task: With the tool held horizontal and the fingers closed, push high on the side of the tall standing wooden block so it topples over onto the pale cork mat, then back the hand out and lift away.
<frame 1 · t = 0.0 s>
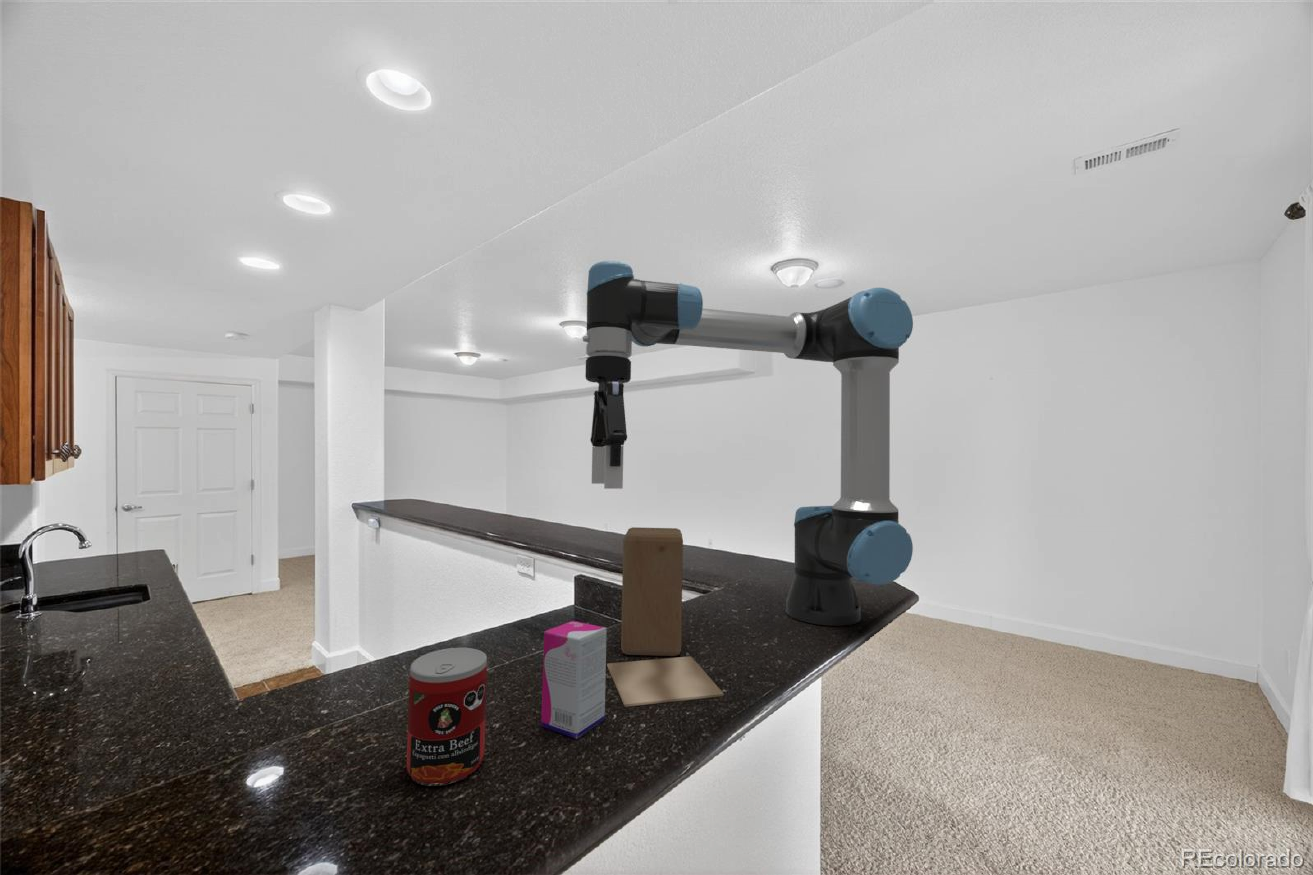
hand: (605, 486, 87), 28 cm above the counter, tool pointing down, fingers open, 13 cm apart
supplement box: (573, 724, 65), on the counter
canned food: (446, 767, 56), on the counter
wooden block: (651, 647, 92), on the counter
cork mat: (661, 679, 78), on the counter
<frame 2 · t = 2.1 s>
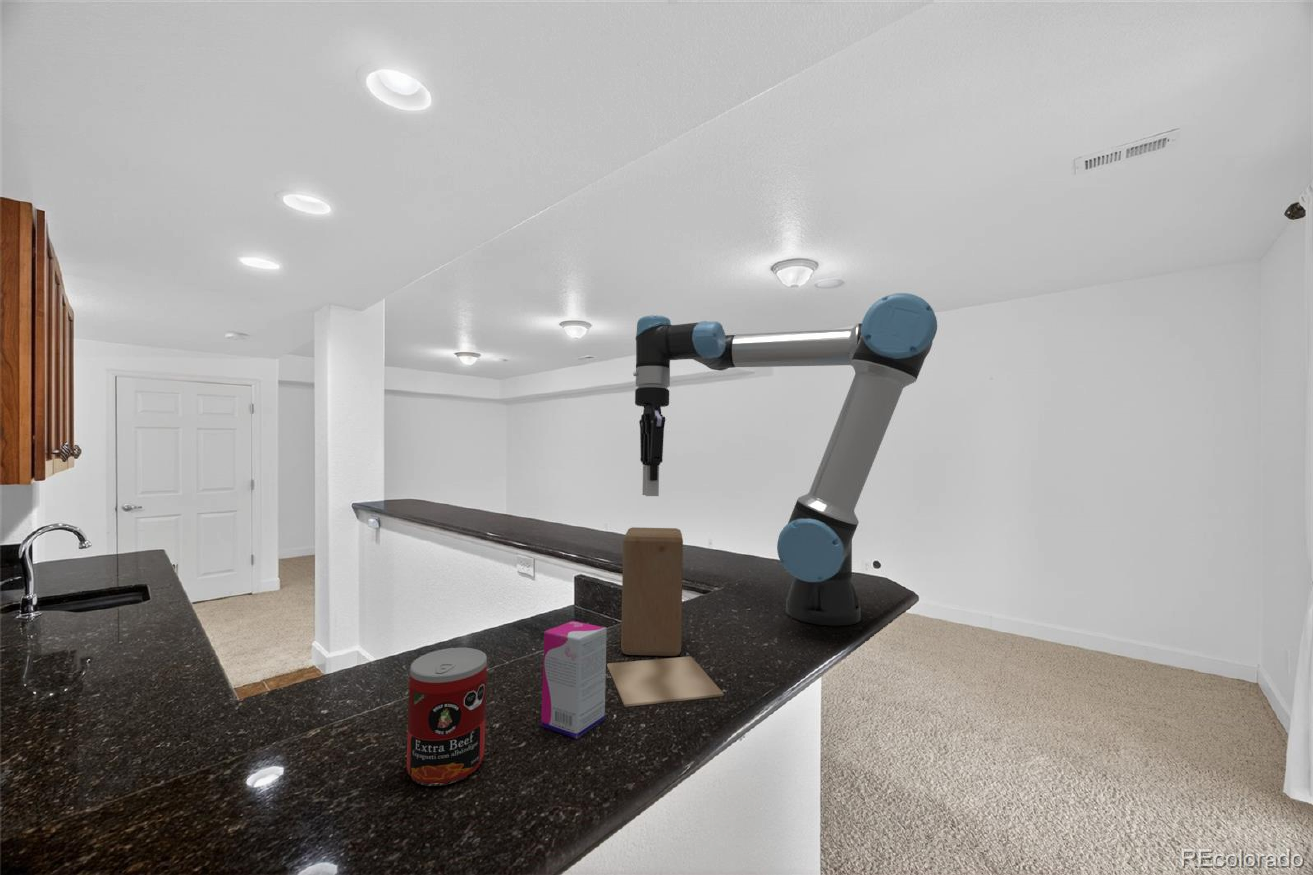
hand: (650, 495, 115), 24 cm above the counter, tool pointing down, fingers open, 2 cm apart
nothing on the counter moved.
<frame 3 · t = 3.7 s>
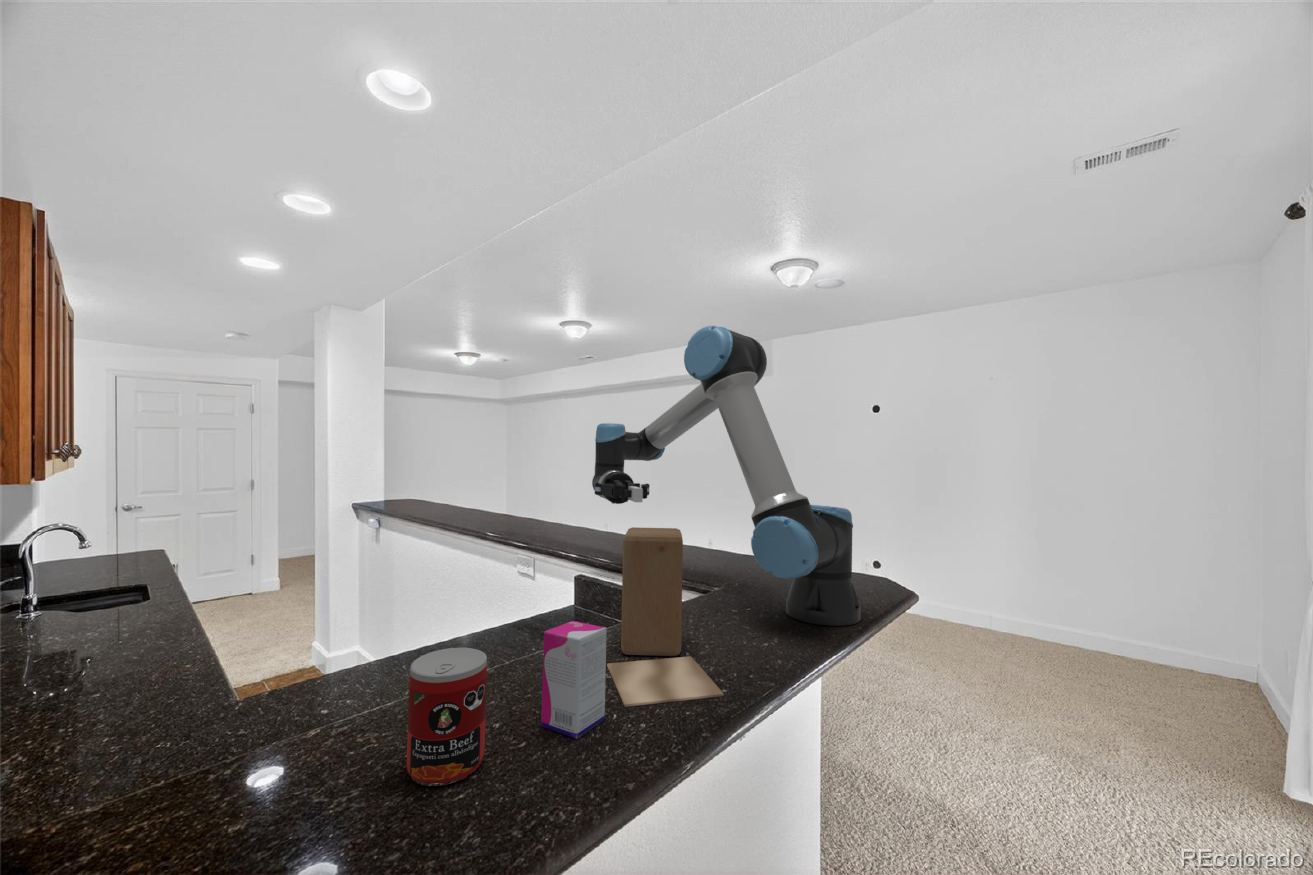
hand: (638, 495, 104), 25 cm above the counter, tool horizontal, fingers closed
nothing on the counter moved.
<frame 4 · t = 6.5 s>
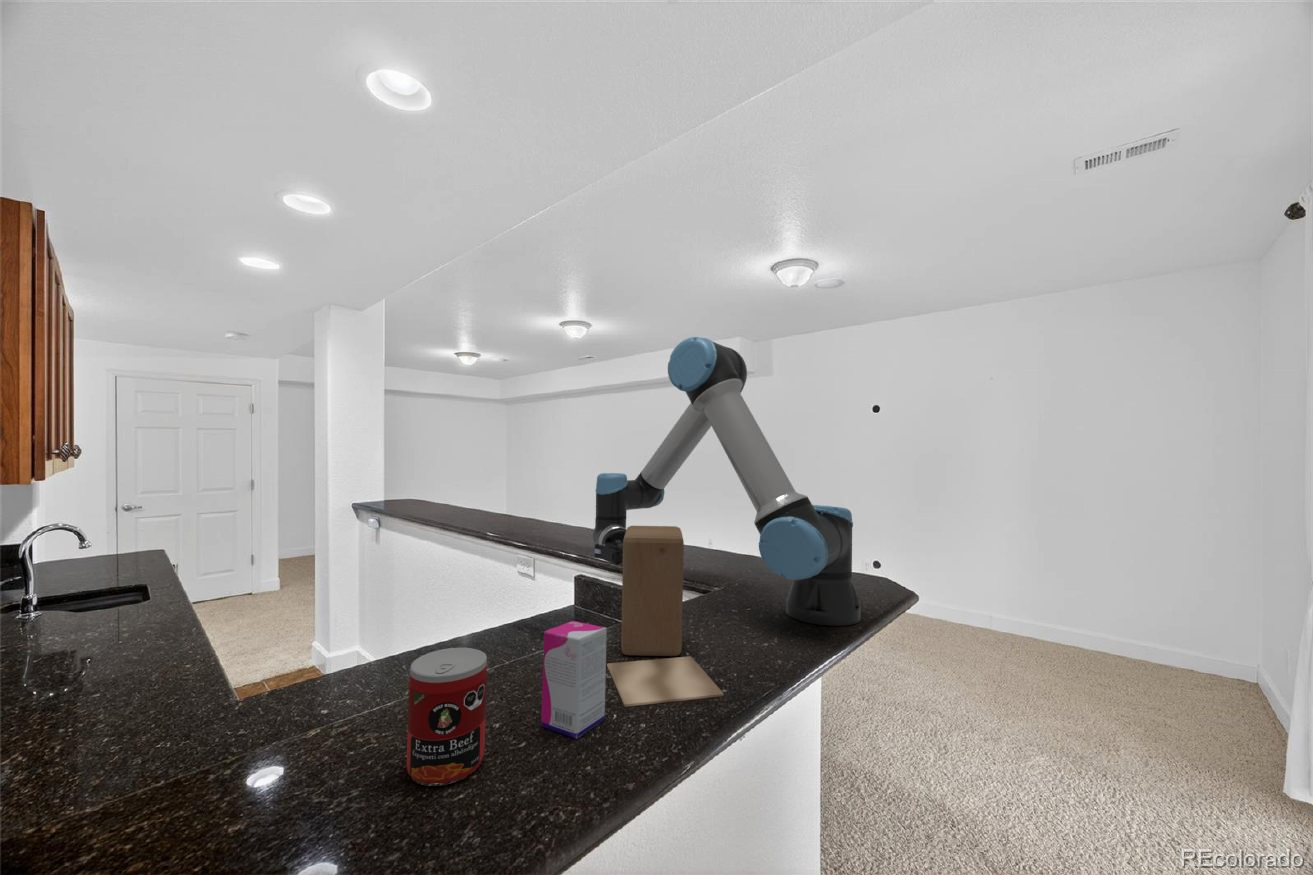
hand: (641, 565, 97), 13 cm above the counter, tool horizontal, fingers closed
wooden block: (651, 646, 91), on the counter, touching gripper
everything else where it was.
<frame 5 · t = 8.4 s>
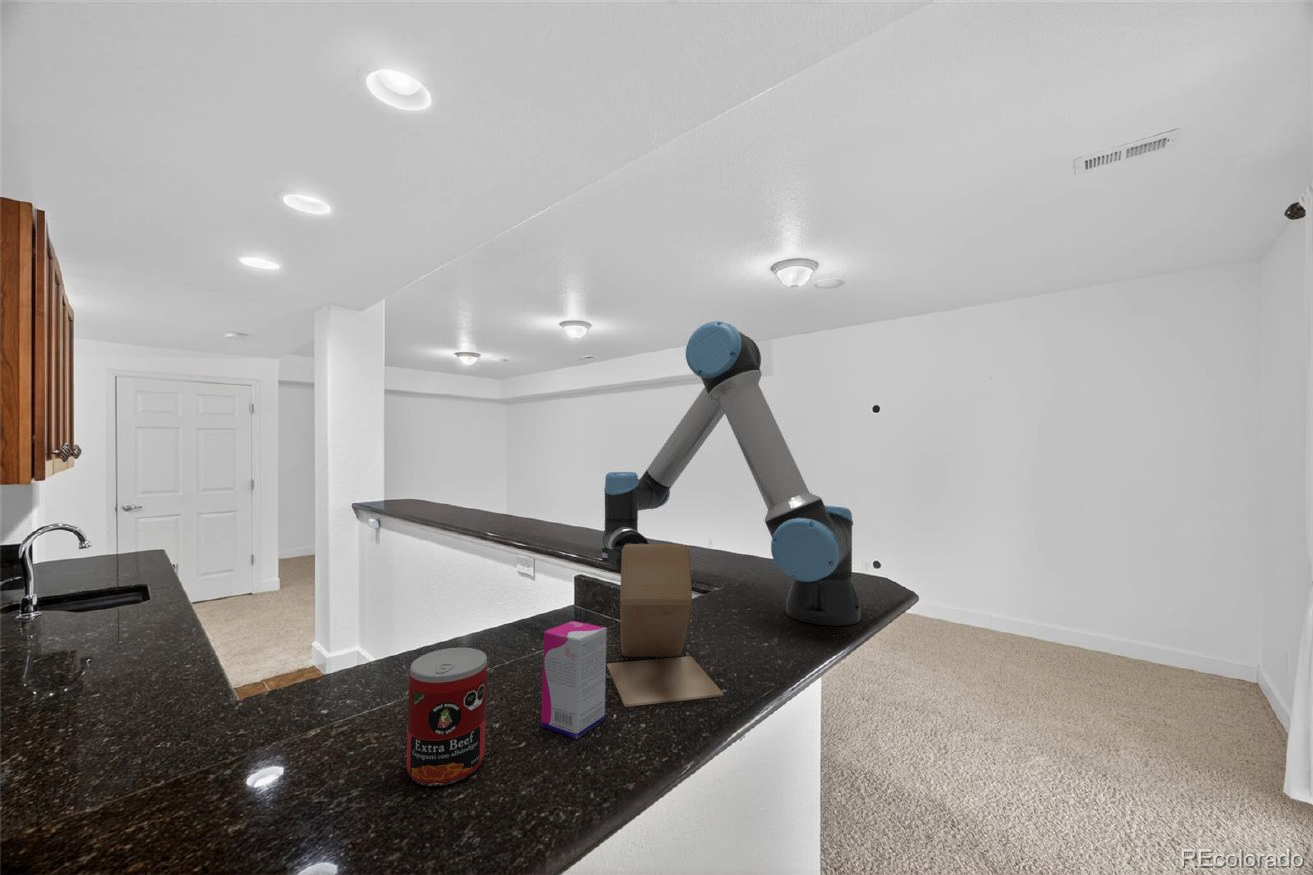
hand: (652, 570, 88), 14 cm above the counter, tool horizontal, fingers open, 2 cm apart
wooden block: (651, 629, 90), point 4 cm above the counter, touching cork mat, gripper
everything else where it was.
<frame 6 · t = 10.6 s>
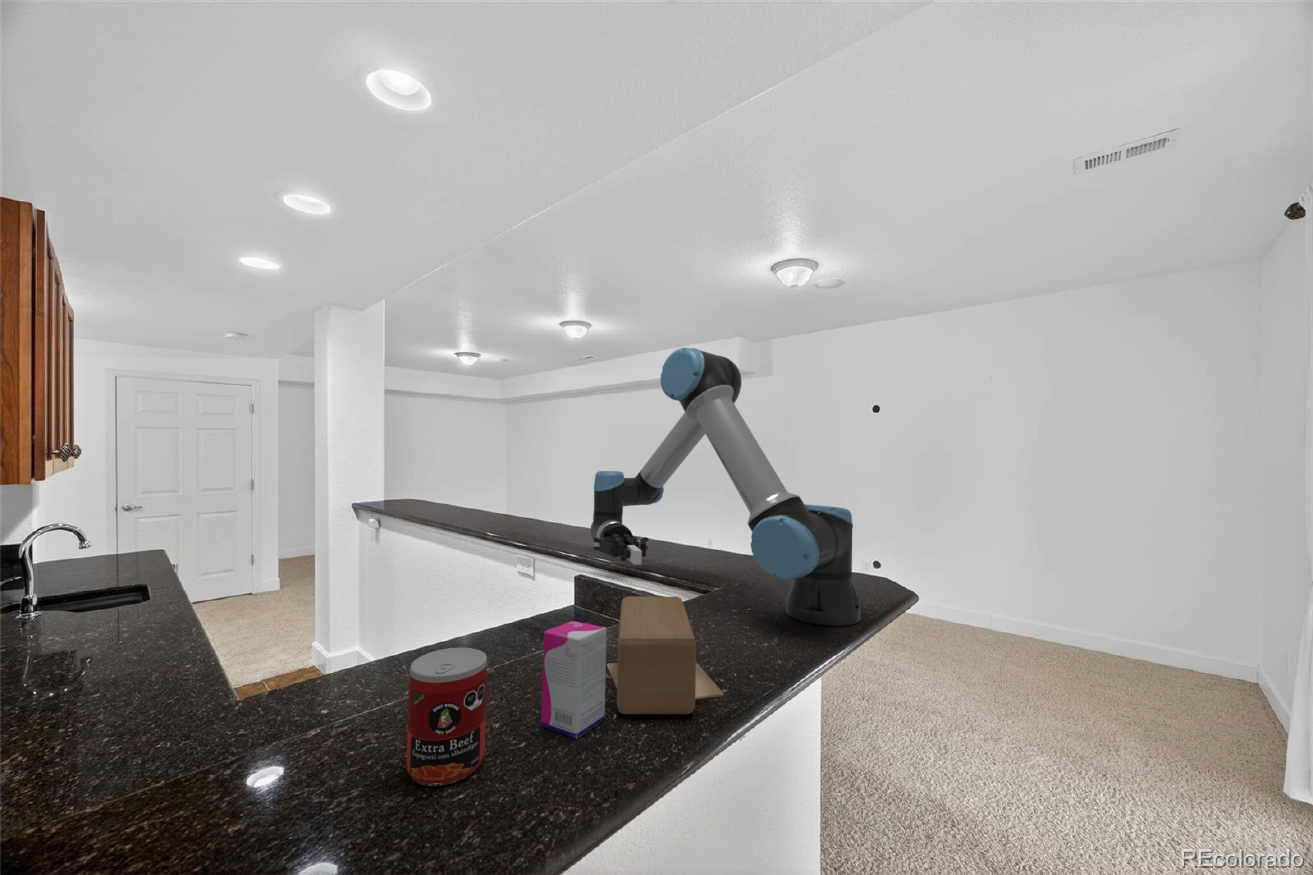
hand: (637, 557, 104), 13 cm above the counter, tool horizontal, fingers closed
wooden block: (651, 625, 86), point 5 cm above the counter, touching cork mat
everything else where it was.
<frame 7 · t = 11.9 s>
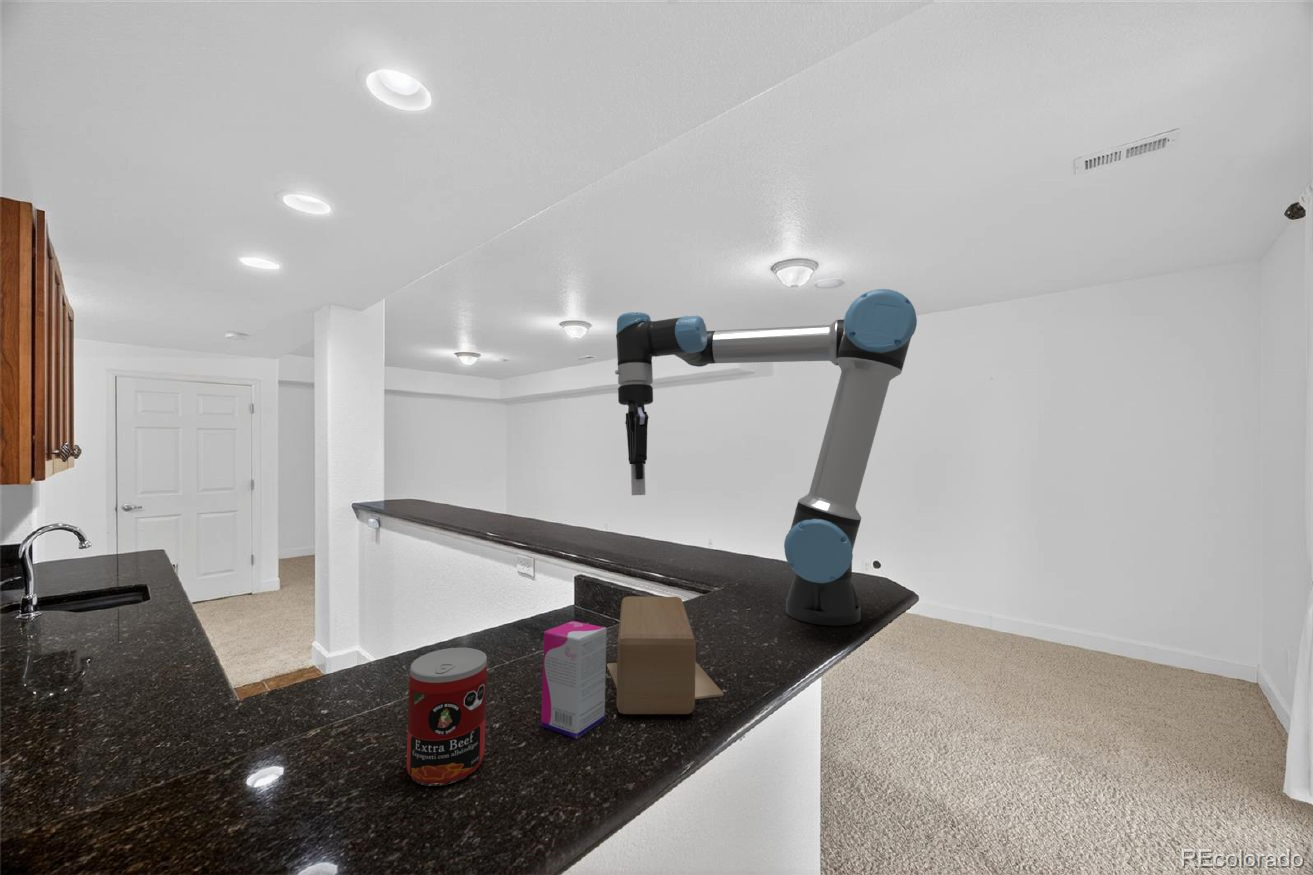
hand: (638, 494, 113), 25 cm above the counter, tool pointing down, fingers closed
nothing on the counter moved.
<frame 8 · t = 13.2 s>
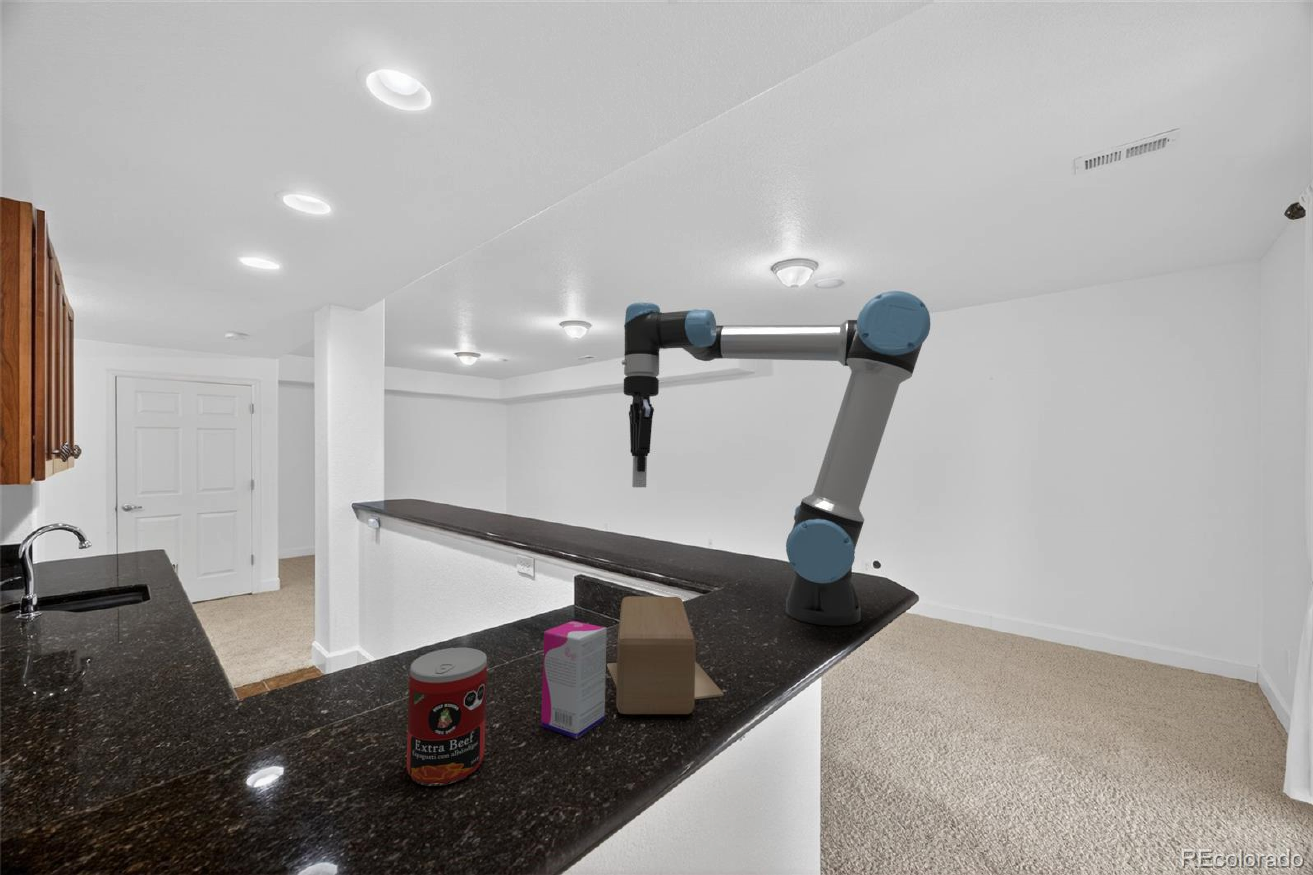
hand: (639, 487, 112), 26 cm above the counter, tool pointing down, fingers closed
nothing on the counter moved.
at the end: wooden block tilted 90°; wooden block inside the target area (7.9 cm from its centre), point 5.3 cm above the counter; the gripper is holding nothing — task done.
